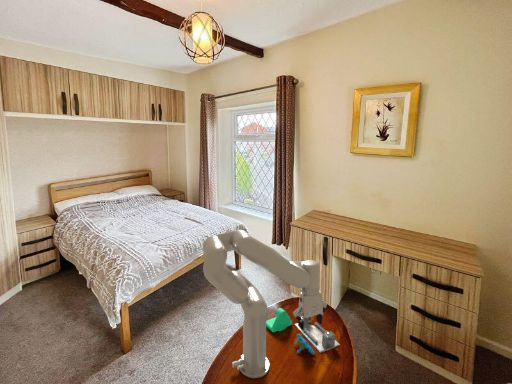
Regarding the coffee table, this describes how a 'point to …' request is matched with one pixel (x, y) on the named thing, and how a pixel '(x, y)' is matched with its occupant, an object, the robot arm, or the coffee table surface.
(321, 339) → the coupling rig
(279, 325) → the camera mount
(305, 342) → the gear
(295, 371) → the coffee table surface
